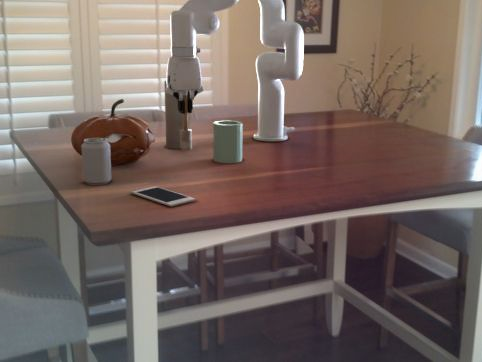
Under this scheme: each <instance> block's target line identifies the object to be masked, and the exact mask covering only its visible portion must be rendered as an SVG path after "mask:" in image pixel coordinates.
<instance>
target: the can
mask: <svg viewBox="0 0 482 362" xmlns="http://www.w3.org/2000/svg"><path fill="white" fill-rule="evenodd" d="M81 148H82V156H81V162H82V163H81V164H82V166H81V167H82V181H83V182H85V183H86V184H87V185H89V186H102V185H106V184H109V183H110V181H112V164H111V154H110V144H109V143H108V142H107V139H105V138H88V139H85V140H84V143H83V144H82V146H81Z"/></svg>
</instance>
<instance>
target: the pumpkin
mask: <svg viewBox="0 0 482 362" xmlns="http://www.w3.org/2000/svg"><path fill="white" fill-rule="evenodd" d="M123 103H125V100H124V98H121V99H118V100H116V101H115V102H113V104H112V106H111V108H110V109H111V110H110V113H109V114H96V115H94V116H92V117H89V118H87V119H85V120H82V122H80V123H79V124H77V126H75V128H74V129H73V131H72V133H71V136H70V138H71V139H70V141H71V146H72V148H73V150H74V151H75V152H76V153H77V154H78V155H80V156H81V157H82V148H81V146H82V144H83V143H84V140H85V139H88V138H105V139H107V142H108V143H109V144H110V154H111V166H118V165H120V164H132V163H135V162H136V161H139V160H140V159H141V158H143V157H144V156H146V155H147V154H148V153H149V152H150V151H151V145H152V143H155V142H156V136H155V134H154V133H153V132H152V131H151V129H150V125H149V123H148V122H147V121H145V120H143V119H141V118H139V117H137V116H133V115H130V114H127V113H122V114H117V113H115V111H116V108H117V107H118V106H119V105H121V104H123Z"/></svg>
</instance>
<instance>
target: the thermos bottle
mask: <svg viewBox="0 0 482 362" xmlns="http://www.w3.org/2000/svg"><path fill="white" fill-rule="evenodd" d="M165 78H166V79H167V74H166V76H165ZM166 90H167V83H166V80H164V117H165V147H166V148H167V149H174V150H176V149H177V150H182V149H181V147H180V130H181V129H183V114H182V113H179V111H178V100H177V99H176V98H175V97H174V96H173V95H170V94H167V93H166ZM172 91H174V90H172ZM174 92H176V91H174ZM183 95H187V90H184V91H183ZM188 129H190V113H188Z"/></svg>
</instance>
